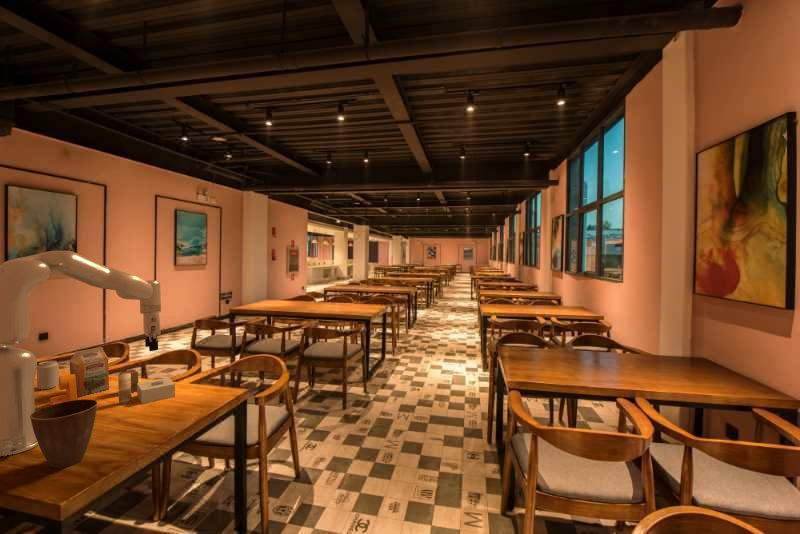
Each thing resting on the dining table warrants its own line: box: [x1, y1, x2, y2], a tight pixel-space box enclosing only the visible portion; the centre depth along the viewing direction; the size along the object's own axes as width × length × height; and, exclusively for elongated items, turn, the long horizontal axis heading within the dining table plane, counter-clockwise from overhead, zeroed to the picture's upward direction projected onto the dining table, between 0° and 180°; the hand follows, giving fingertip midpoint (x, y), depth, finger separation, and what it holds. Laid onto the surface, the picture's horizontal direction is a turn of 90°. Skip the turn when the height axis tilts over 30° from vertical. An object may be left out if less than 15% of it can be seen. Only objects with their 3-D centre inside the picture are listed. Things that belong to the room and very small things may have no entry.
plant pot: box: [30, 398, 98, 469], centre depth 113 cm, size 15×15×16 cm
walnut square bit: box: [118, 369, 139, 394], centre depth 171 cm, size 6×6×9 cm
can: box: [36, 360, 60, 391], centre depth 177 cm, size 8×8×12 cm
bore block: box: [136, 377, 176, 405], centre depth 166 cm, size 12×12×6 cm
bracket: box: [49, 374, 79, 405], centre depth 156 cm, size 11×7×12 cm, turn 49°
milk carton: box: [69, 346, 110, 398], centre depth 172 cm, size 11×11×19 cm
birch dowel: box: [117, 373, 132, 406], centre depth 159 cm, size 4×4×12 cm
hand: (151, 348), depth 165 cm, fingers open, 9 cm apart
